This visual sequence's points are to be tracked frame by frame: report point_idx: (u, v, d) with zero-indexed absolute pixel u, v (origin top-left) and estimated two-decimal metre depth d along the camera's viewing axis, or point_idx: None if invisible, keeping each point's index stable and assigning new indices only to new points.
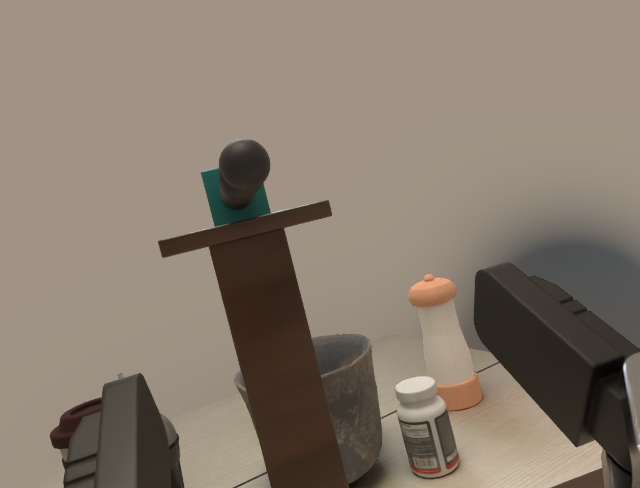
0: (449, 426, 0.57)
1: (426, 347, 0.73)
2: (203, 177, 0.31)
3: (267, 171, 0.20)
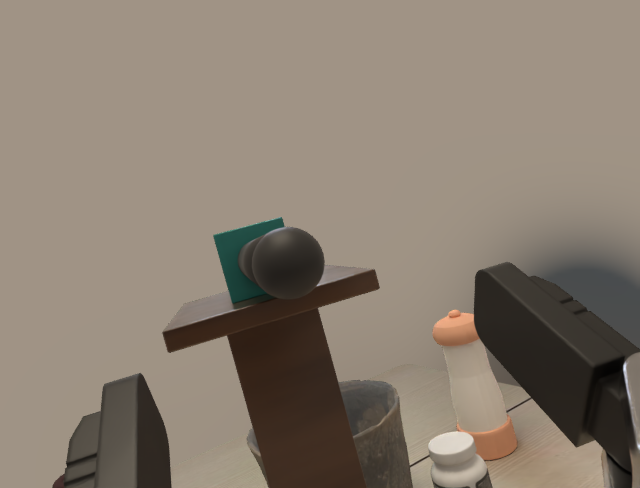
0: None
1: (454, 389, 0.67)
2: (216, 241, 0.25)
3: (321, 273, 0.14)
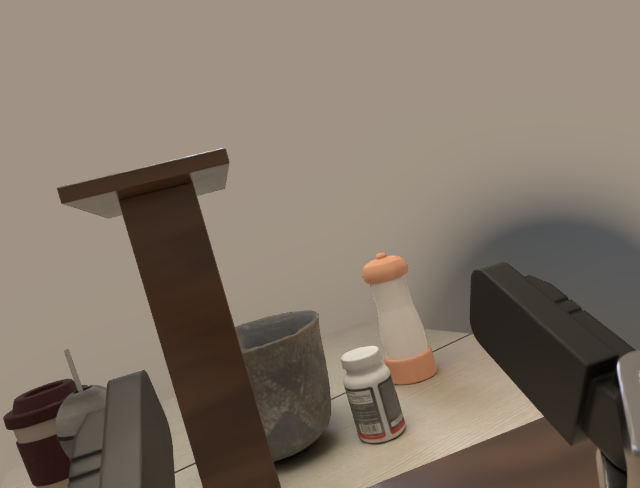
0: (393, 392, 0.58)
1: (380, 323, 0.75)
2: None
3: None
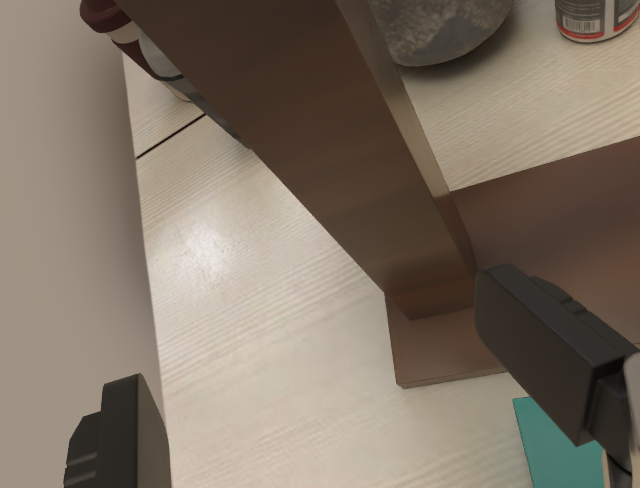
0: None
1: None
2: None
3: None
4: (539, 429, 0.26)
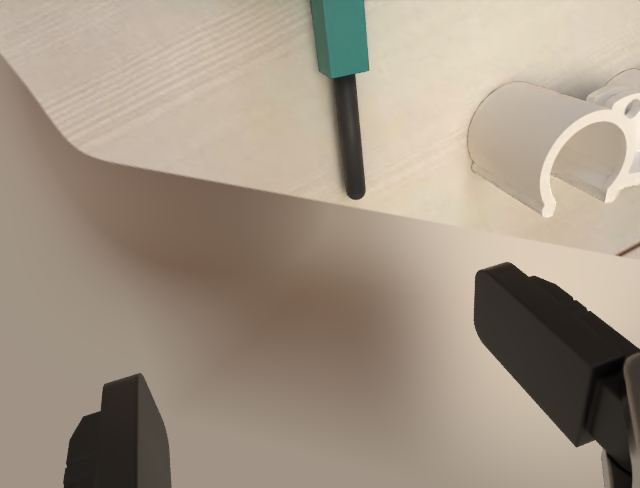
0: None
1: None
2: (330, 77, 0.44)
3: None
4: None
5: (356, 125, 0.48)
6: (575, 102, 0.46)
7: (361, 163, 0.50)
